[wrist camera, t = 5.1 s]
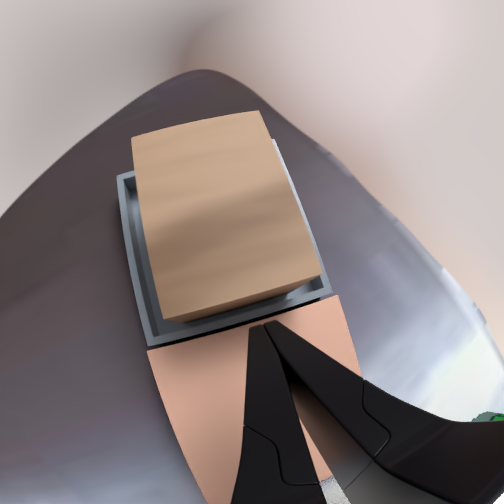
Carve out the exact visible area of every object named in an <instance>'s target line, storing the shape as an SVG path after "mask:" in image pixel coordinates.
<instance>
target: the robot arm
mask: <svg viewBox="0 0 504 504" xmlns="http://www.w3.org/2000/svg"><path fill="white" fill-rule="evenodd" d="M299 418H300V420H301V422H302V424H303V425H304V427H305V429H306V430H307V432H308V434H309V436H310V437H311V439H312V441H313V442H314V444H315V446H316V448H317V449H318V451H319V453H320V454H321V456H322V458H323V459H324V461H325V463H326V464H327V466H328V468H329V469H330V471H331V473H332V474H333V476H334V477H335V479H336V481H337V482H338V484H339V486H340V487H341V489H342V490H344V491H343V492H344V494H345V495H346V497H347V498H348V500H349V502H350V503H351V504H504V420H497V421H479V422H458V421H451V420H447V419H444V418H441V417H439V416H436V415H434V414H431V413H429V412H427V411H424V410H422V409H420V408H418V407H415V406H413V405H411V404H409V403H406V402H404V401H402V400H400V399H398V398H396V397H394V396H392V395H390V394H388V393H387V392H385V391H383V390H381V389H380V388H378V387H376V386H375V385H373V384H372V383H370V382H369V381H367V380H364V379H363V378H362V377H361V376H359V375H358V374H356V373H354V372H353V371H351V370H350V369H348V368H347V367H345V366H344V365H342V364H341V363H339V362H338V361H336V360H335V359H333V358H332V357H330V356H329V355H327V354H326V353H324V352H323V351H321V350H320V349H318V348H317V347H315V346H314V345H312V344H311V343H309V342H308V341H306V340H305V339H304V338H302V337H301V336H299V335H298V334H296V333H295V332H293V331H292V330H291V329H289V328H288V327H286V326H285V325H283V324H282V323H281V322H279V321H278V320H271V321H268V322H265V323H264V324H263V325H262V324H258V325H255V326H252V327H250V328H249V334H248V351H247V369H246V386H245V403H244V421H243V425H244V426H243V435H242V447H241V456H240V462H239V467H238V473H237V477H236V482H235V486H234V490H233V494H232V499H231V503H230V504H327V502H326V499H325V497H324V494H323V491H322V488H321V486H320V485H319V484H320V482H319V479H318V476H317V473H316V470H315V467H314V463H313V460H312V457H311V454H310V451H309V448H308V445H307V442H306V438H305V435H304V432H303V429H302V426H301V423H300V420H299Z"/></svg>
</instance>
